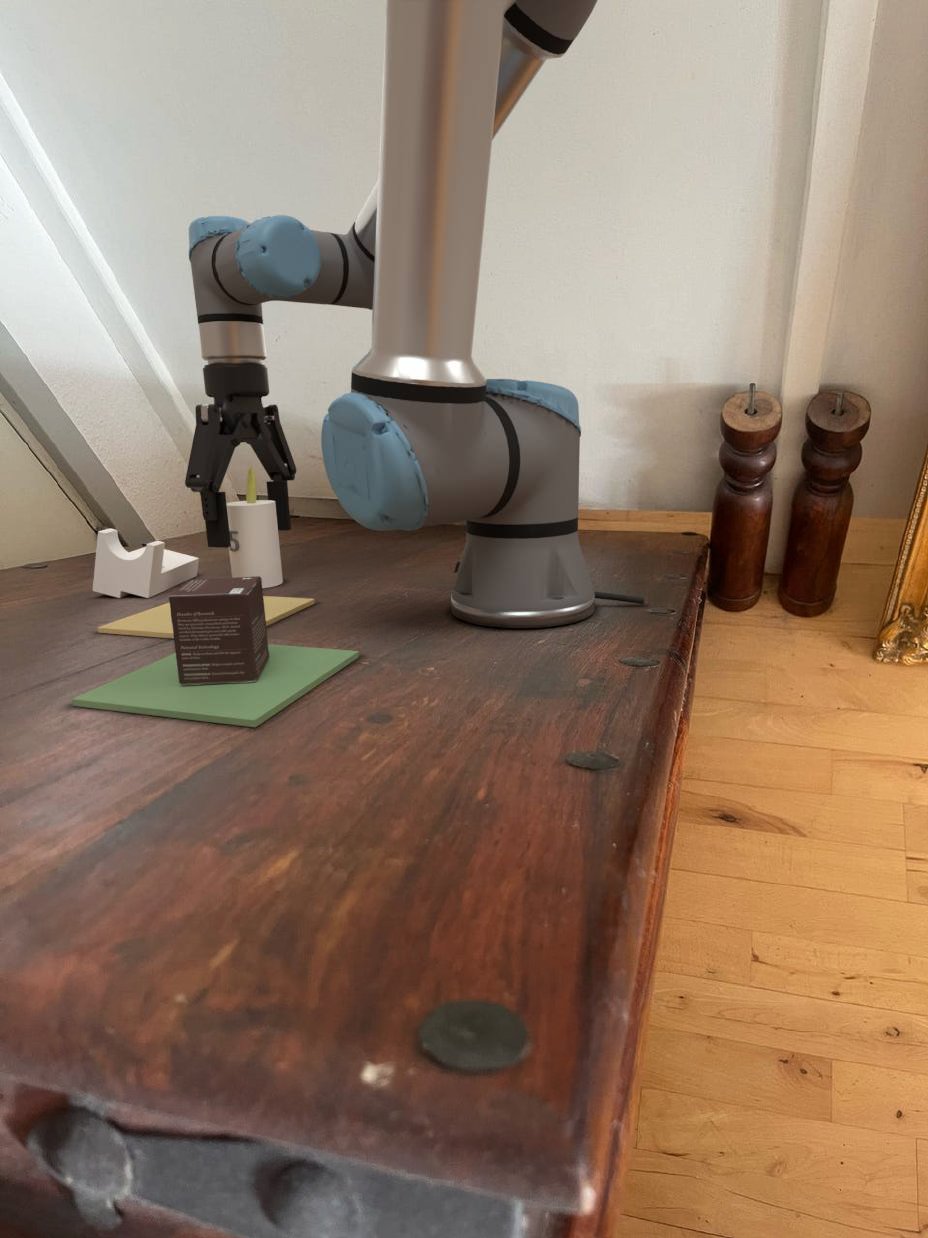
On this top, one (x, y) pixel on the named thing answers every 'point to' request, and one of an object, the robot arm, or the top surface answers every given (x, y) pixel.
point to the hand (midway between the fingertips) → (252, 538)
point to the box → (219, 630)
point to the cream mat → (160, 620)
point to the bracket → (138, 567)
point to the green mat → (220, 688)
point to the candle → (254, 537)
